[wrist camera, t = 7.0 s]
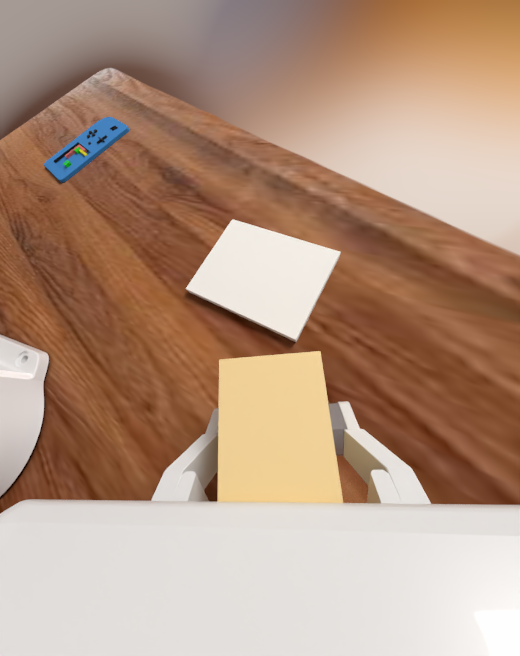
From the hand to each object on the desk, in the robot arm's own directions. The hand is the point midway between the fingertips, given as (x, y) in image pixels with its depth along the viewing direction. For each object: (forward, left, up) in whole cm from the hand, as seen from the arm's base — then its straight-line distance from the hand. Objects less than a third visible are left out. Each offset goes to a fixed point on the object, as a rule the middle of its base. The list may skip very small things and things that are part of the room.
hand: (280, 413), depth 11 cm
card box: (0, -1, -5) cm, 5 cm away
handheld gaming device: (-50, +22, -7) cm, 55 cm away
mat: (-8, +10, -7) cm, 15 cm away
